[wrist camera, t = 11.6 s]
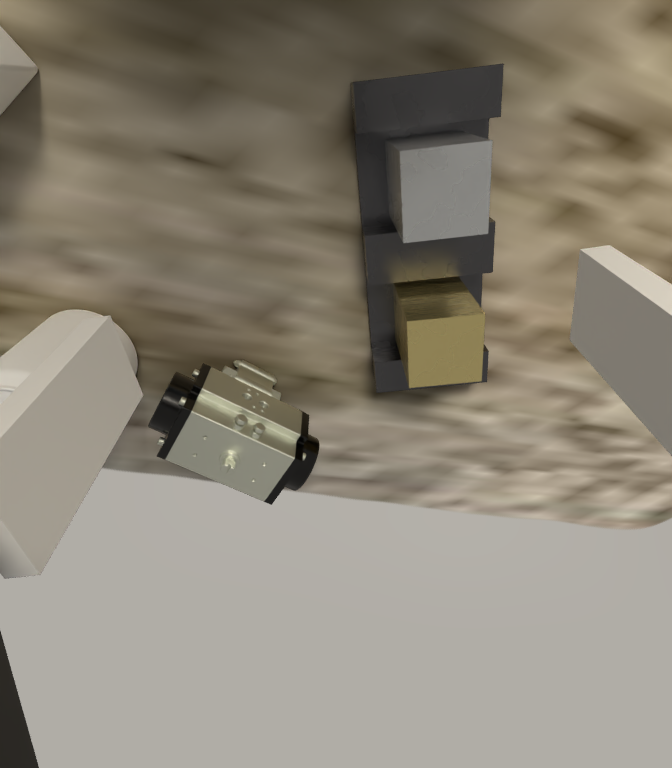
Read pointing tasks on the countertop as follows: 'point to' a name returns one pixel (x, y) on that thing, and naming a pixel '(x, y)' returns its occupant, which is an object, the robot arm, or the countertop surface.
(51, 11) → the countertop surface
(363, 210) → the rack
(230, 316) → the countertop surface
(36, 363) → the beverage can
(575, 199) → the countertop surface
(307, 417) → the pneumatic valve
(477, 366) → the block
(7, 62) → the medicine bottle
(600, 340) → the robot arm
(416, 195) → the light grey upright block
